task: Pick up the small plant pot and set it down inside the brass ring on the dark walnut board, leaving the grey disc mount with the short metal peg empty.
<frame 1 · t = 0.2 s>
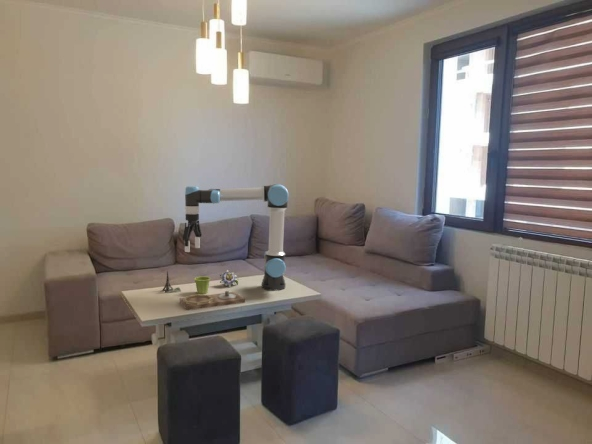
hand: (192, 249, 267), 26 cm above the table, tool pointing down, fingers open, 13 cm apart
eiffel tower figurine: (167, 291, 277), on the table
mount board: (212, 302, 254), on the table
passion flower: (228, 285, 291), on the table
plant pot: (202, 293, 273), on the table
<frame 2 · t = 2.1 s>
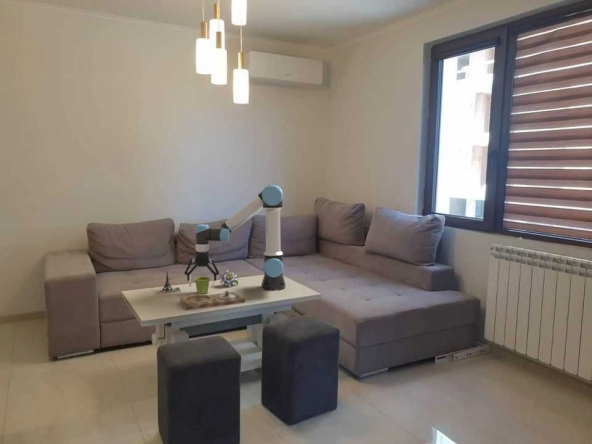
hand: (201, 286, 273), 4 cm above the table, tool pointing down, fingers open, 13 cm apart
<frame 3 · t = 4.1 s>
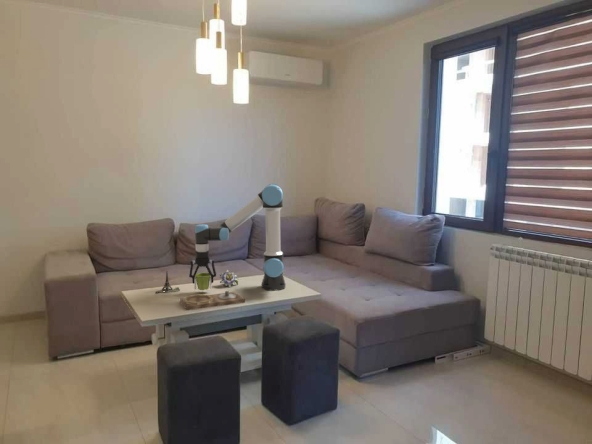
hand: (203, 288, 273), 3 cm above the table, tool pointing down, fingers closed on plant pot, 8 cm apart
plant pot: (203, 289, 273), point 2 cm above the table, touching gripper
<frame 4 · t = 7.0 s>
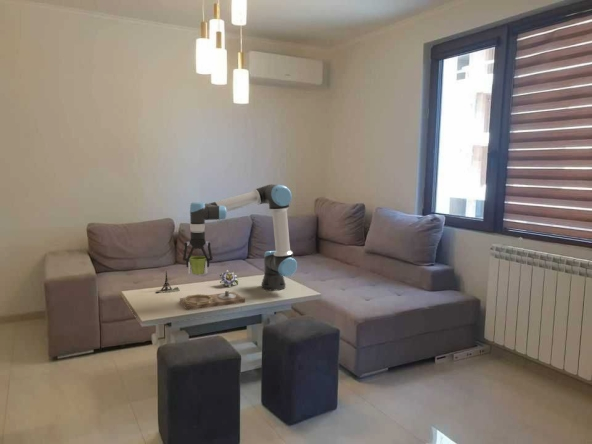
hand: (198, 273, 248), 17 cm above the table, tool pointing down, fingers closed on plant pot, 8 cm apart
plant pot: (198, 273, 249), point 17 cm above the table, touching gripper
when the fingers open (4 cm above the table, at t = 10.3 s): plant pot drops 1 cm, resting on mount board.
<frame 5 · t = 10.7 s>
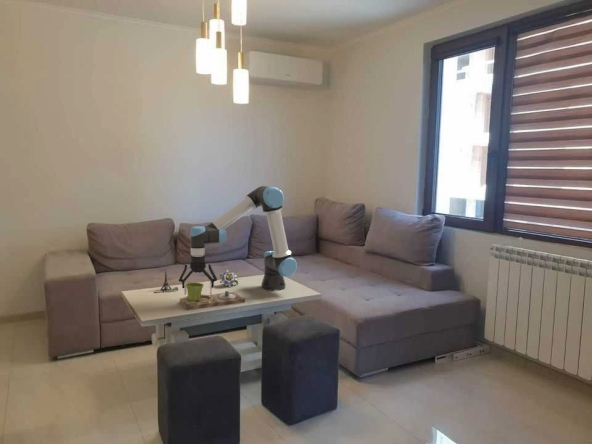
hand: (198, 293, 250), 6 cm above the table, tool pointing down, fingers open, 13 cm apart
plant pot: (193, 300, 250), point 2 cm above the table, touching gripper, mount board
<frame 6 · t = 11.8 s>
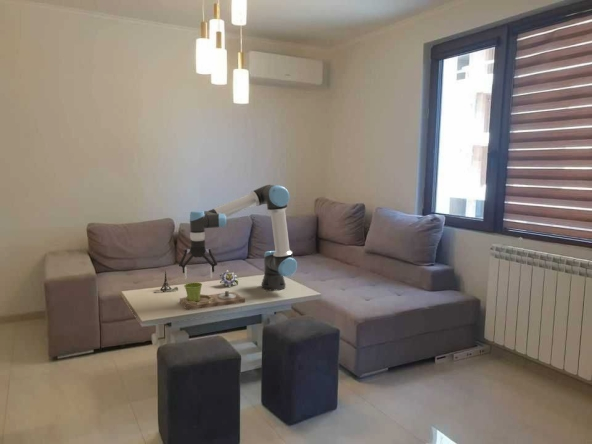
hand: (198, 278, 249), 14 cm above the table, tool pointing down, fingers open, 13 cm apart
plant pot: (193, 300, 250), point 2 cm above the table, touching mount board
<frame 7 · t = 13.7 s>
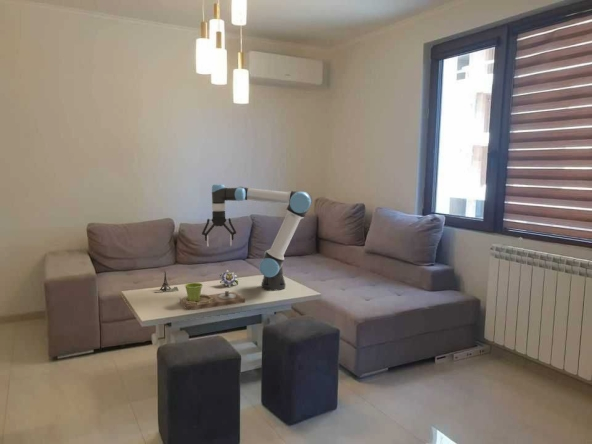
hand: (219, 246, 275), 27 cm above the table, tool pointing down, fingers open, 13 cm apart
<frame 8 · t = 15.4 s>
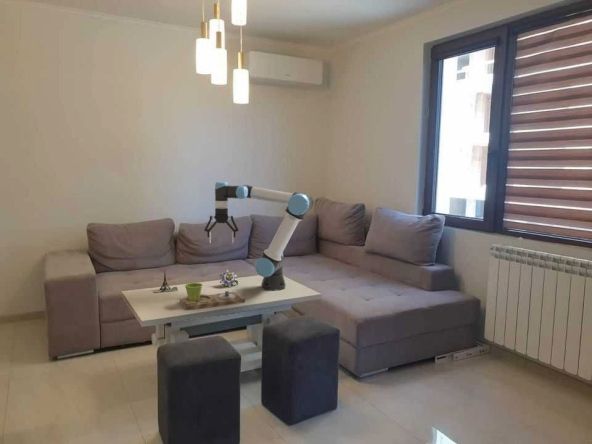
hand: (221, 242, 279), 29 cm above the table, tool pointing down, fingers open, 13 cm apart
at the end: plant pot 2.3 cm from the target spot on the mount board, point 1.8 cm above the mount board's base; plant pot tilted 0°; the gripper is holding nothing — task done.
